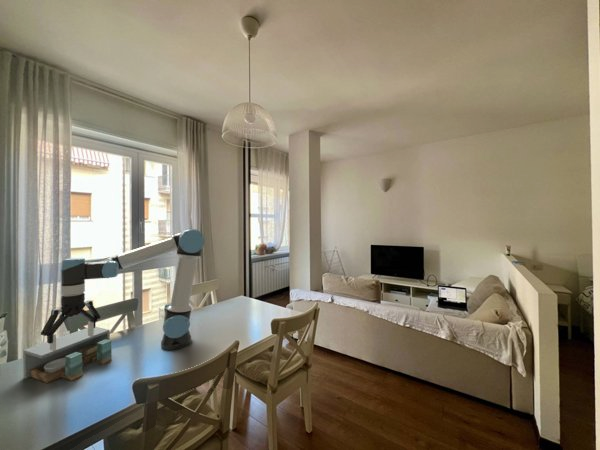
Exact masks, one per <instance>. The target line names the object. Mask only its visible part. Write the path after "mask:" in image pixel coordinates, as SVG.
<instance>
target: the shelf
mask: <svg viewBox="0 0 600 450" xmlns="http://www.w3.org/2000/svg"><path fill="white" fill-rule="evenodd" d="M110 334H111V333H110V329H109V328H103V327H100V326H96V327H95V328H94V336H93V337H90V336H88V327H85V328H83V329H80V330H77V331H74V332H72V333H69V334H66V335H63V336H60V337H56V350H55V351H52V350H50V344H49V343H47V341H45V342H43V343H39V344H37V345H34V346H30V347H29V348H24V349H23V352H22V353H23V357H22V358H23V379H29V378H31V377H30V370H31V369H33V368H35V367H38V366H40V365H43V364H45V363H48V362H50V361H53V360H55V359H58V358H60V357H63V356H65V355H70V354H72V353H75V352H78V351H80V349H82V348H84V347H87V346H89V345H95V346H97V343H98V342H100V341H103V340H105V339H107V340H111V339H110V338H111V337H110Z"/></svg>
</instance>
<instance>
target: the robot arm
mask: <svg viewBox="0 0 600 450" xmlns="http://www.w3.org/2000/svg"><path fill="white" fill-rule="evenodd" d="M205 241H206V239H205V237H204V234H203V233H202V232H201V231H200V230H198V229H195V228H187V229H185V230H183V231H181V232H179V233H176V234H172V235H171V237H170V238H166V239H163V240H160V241H156V242H153V243H151V244H147V245H145V246H141V247H138V248H135V249H132V250H128V251H125V252H122V253H119V254H116V255H114V256H109V257H106V258H103V260H100V261H91V262H89V261H86V259H85V258H84V257H70V258H65V259H63V260H62V261H61V269H60V271H61V272H60V273H61V276H60V277H61V278H60V280H61V285H60V286H61V288H60V289H61V292H60V293H61V296H60V297H61V298H60V299H61V300H60V304H61V307H60V308H58V309H55V308H53V309H51V311H50V316H49V317H48V320H47V321H46V323H45V324H44V327H43V329H42V330H41V332H40V335H41V336H44V337H46V342H47V343H49V344H50V350H52V351H55V350H56V338H57V334H56V332H57V330H58V329H59V328H60V327H61V325H63V324H64V322H65V320H67V319H68V318H69V317H70V318H71V317H74V316H77V315H80V314H81V315H82V316H84V317H85V318H87V320H89V321H87V328H88V336H90V337H93V336H94V328H95V327H97V326H96V325H97V324H96V323H97V321H98V320H99V319H101V315H100V314H99V312H98V310H97V309H96V308H95V306H94V304H93V303H94V302H93V301H92V300H87V301H86V302H85V299H86V298H85V297H86V296H85V295H86V294H85V293H84V292H85V291H86V289H85V287H86V280H97V279H110V278H116V277H118V275H119V271H120V270H121V271H122V270H124V269H126V268H130V267H132V266H135V265H137V264H141V263H144V262H147V261H149V260H153V259H155V258H159V257H162V256H164V255H168V254H170V253H173V252H176V255H177V256H178V263H177V268H176V273H175V278H174V279H175V280H174V284H173V290H172V294H171V300H170V302H167V303H165V305H164V308H163V310H164V314H163V315H164V318H163V325H162V331H163V335H162V340H161V341H160V348H161V349H162V350H165V351H174V350H179V349H183V348H185V347H187V346H188V345H190V344H191V342H192V335H191V333H190V326H191V321H190V320H191V314H192V307H191V305H190V301H191V296H192V289H193V285H194V279H195V278H194V277H195V273H196V269H197V268H196V267H197V261H198V259H199V258H200V257H201V256H202V252H203V247H204V246H205ZM85 306H86V307H87V308H88V310H89V312H90V313H91V314H90V313H89V312H87V311H86V310H85V309H84V308H85ZM60 313H61V314H60ZM58 316H59V317H58ZM57 318H58V319H57Z"/></svg>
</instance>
